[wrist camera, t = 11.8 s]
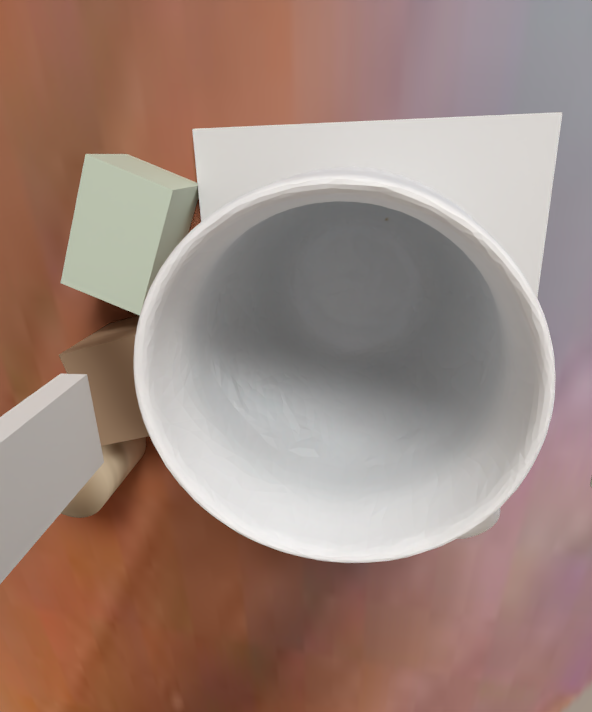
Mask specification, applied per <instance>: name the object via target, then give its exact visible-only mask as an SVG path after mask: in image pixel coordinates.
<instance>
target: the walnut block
mask: <svg viewBox="0 0 592 712" xmlns="http://www.w3.org/2000/svg"><path fill="white" fill-rule="evenodd" d="M139 317H140V316H136V317H132V318H128V319H124V320H121V321H117V322H113V323H109V324H108V325H106V326H104V327H103V328H101V329H100V330H98V331H96V332H95V333H93V334H92V335H90V336H88V337H87V338H85V339H84V340H82V341H80V342H79V343H77V344H75V345H74V346H72V347H71V348H69V349H67V350H66V351H64V352H63V353H61V354H59V356H60V359H61V361H62V363H63V365H64V367H65V369H66V372H67V374H87V377H88V382H89V387H90V392H91V397H92V402H93V407H94V413H95V418H96V423H97V428H98V433H99V438H100V443H101V446H103V445H108V444H113V443H118V442H123V441H128V440H133V439H138V438H143V437H148V436H149V434H148V431H147V429H146V426H145V424H144V421H143V418H142V415H141V412H140V408H139V404H138V399H137V395H136V389H135V381H134V345H135V335H136V330H137V325H138V321H139Z"/></svg>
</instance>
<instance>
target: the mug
mask: <svg viewBox="0 0 592 712" xmlns="http://www.w3.org/2000/svg"><path fill="white" fill-rule="evenodd" d="M134 381H135V389H136V395H137V399H138V404H139V408H140V412H141V415H142V418H143V421H144V424H145V426H146V429H147V431H148V434H149V436H150V438H151V440H152V443H153V444H154V446H155V448H156V450H157V451H158V453H159V455H160V457H161V458H162V460H163V462H164V464H165V465H166V467H167V468H168V470H169V471H170V472H171V474H172V475H173V476H174V478H175V479H176V480H177V482H178V483H179V484H180V485H181V486H182V488H183V489H184V490H185V491H186V492H187V493H188V494H189V495H190V496H191V497H192V498H193V499H194V500H195V501H196V502H197V503H198V504H199V505H200V506H201V507H203V508H204V509H205V510H206V511H207V512H208V513H210V514H211V515H212V516H214V517H215V518H216V519H218V520H219V521H221V522H222V523H224V524H225V525H227V526H228V527H230V528H231V529H233V530H234V531H236V532H237V533H239V534H241V535H243V536H245V537H247V538H249V539H251V540H253V541H255V542H257V543H260V544H262V545H265V546H267V547H270V548H273V549H275V550H278V551H281V552H285V553H289V554H292V555H296V556H300V557H304V558H309V559H315V560H320V561H328V562H340V563H370V562H380V561H391V560H396V559H402V558H406V557H410V556H413V555H416V554H419V553H422V552H426V551H429V550H432V549H435V548H438V547H440V546H443V545H445V544H447V543H449V542H451V541H453V540H455V539H465V538H469V537H473V536H476V535H479V534H481V533H483V532H485V531H487V530H488V529H490V528H491V527H492V526H493V525H494V524H495V523H496V522H497V520H498V518H499V516H500V507H501V506H502V505H503V504H504V503H505V502H506V501H507V500H508V498H509V497H510V496H511V495H512V494H513V493H514V492H515V491H516V490H517V489H518V487H519V486H520V484H521V483H522V481H523V480H524V478H525V477H526V475H527V474H528V472H529V471H530V469H531V467H532V466H533V464H534V462H535V460H536V458H537V456H538V453H539V451H540V449H541V447H542V445H543V442H544V440H545V437H546V434H547V431H548V427H549V424H550V420H551V416H552V411H553V405H554V397H555V364H554V353H553V347H552V342H551V337H550V333H549V329H548V326H547V322H546V319H545V316H544V313H543V311H542V309H541V306H540V304H539V301H538V299H537V297H536V295H535V294H534V292H533V290H532V288H531V286H530V285H529V283H528V281H527V279H526V277H525V276H524V274H523V273H522V272H521V270H520V269H519V267H518V266H517V264H516V263H515V262H514V260H513V259H512V258H511V256H510V255H509V254H508V253H507V252H506V251H505V249H504V248H503V247H502V246H501V245H500V244H499V243H498V242H497V241H496V240H495V239H494V238H493V237H492V236H491V235H490V234H489V233H488V231H487V230H486V229H484V228H483V227H482V226H480V225H479V224H478V223H477V222H476V221H475V220H474V219H473V217H472V216H471V215H470V214H468V213H466V212H465V211H464V210H463V209H462V207H461V206H459V205H458V204H456V203H454V202H453V201H451V200H450V199H448V198H446V197H444V196H443V195H442V194H441V193H440V192H437V191H435V190H434V189H433V188H431V187H428V186H425V185H424V184H422V183H420V182H419V181H415V180H412V179H410V178H408V177H406V176H404V175H401V174H393V173H391V172H389V171H387V170H378V169H375V168H370V167H365V168H360V167H356V166H352V167H346V168H345V167H334V168H330V169H315V170H311V171H309V172H303V173H299V174H296V175H294V176H292V177H289V178H284V179H278V180H276V181H274V182H273V183H271V184H268V185H265V186H263V187H260V188H258V189H255V190H252V191H250V192H247V193H246V194H244V195H242V196H240V197H238V198H236V199H234V200H232V201H230V202H229V203H227V204H225V205H224V206H222V207H221V208H219V209H218V210H216V211H215V212H213V213H212V214H211V215H209V216H208V217H207V218H205V219H204V220H203V221H202V222H201V223H199V224H198V225H197V226H196V227H195V228H193V229H192V230H191V231H190V232H189V233H188V234H187V235H186V236H185V237H184V238H183V239H182V241H181V242H180V243H179V244H178V245H177V246H176V248H175V249H174V250H173V251H172V253H171V254H170V255H169V257H168V258H167V260H166V261H165V262H164V264H163V265H162V267H161V268H160V270H159V272H158V274H157V276H156V277H155V279H154V281H153V283H152V285H151V287H150V289H149V291H148V294H147V296H146V299H145V301H144V304H143V306H142V310H141V313H140V317H139V321H138V325H137V330H136V335H135V345H134Z"/></svg>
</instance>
